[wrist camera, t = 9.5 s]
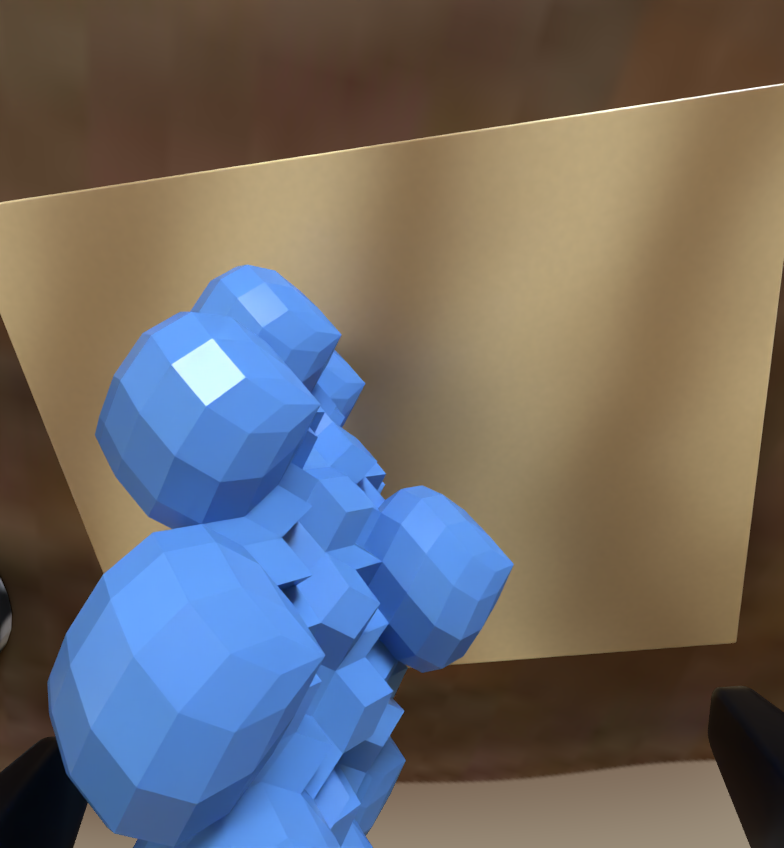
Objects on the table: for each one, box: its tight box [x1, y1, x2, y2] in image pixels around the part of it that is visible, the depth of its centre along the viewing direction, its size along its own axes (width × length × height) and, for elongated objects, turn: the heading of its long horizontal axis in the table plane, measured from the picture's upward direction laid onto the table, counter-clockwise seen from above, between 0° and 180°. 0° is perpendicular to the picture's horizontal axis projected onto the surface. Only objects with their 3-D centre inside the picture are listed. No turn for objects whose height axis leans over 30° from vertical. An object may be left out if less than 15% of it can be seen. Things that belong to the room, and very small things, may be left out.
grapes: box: [47, 265, 514, 848], centre depth 11 cm, size 12×7×12 cm, turn 9°
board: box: [0, 83, 784, 668], centre depth 17 cm, size 20×16×2 cm
